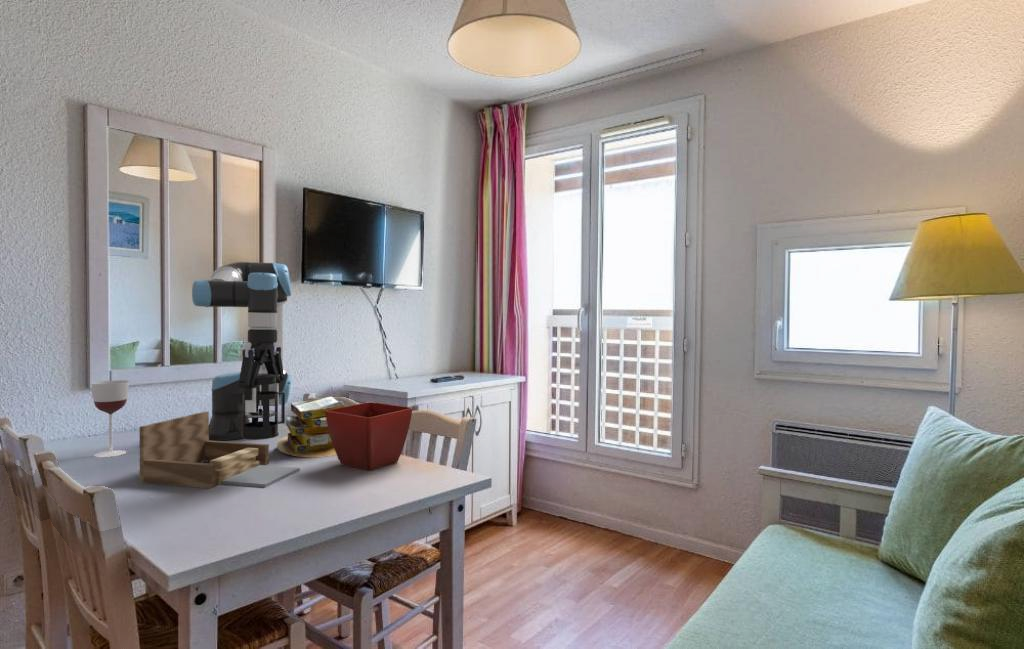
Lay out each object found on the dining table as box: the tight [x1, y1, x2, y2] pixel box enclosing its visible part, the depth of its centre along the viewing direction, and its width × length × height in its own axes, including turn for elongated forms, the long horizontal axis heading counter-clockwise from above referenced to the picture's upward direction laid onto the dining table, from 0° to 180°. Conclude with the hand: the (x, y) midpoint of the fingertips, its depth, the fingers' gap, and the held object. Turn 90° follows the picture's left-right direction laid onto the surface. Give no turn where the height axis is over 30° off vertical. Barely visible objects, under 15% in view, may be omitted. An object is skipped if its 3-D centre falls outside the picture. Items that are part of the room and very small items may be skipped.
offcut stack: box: [209, 448, 259, 486], centre depth 158 cm, size 18×5×6 cm, turn 171°
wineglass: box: [91, 379, 130, 458], centre depth 180 cm, size 9×10×23 cm
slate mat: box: [221, 464, 301, 488], centre depth 157 cm, size 16×13×1 cm
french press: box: [241, 354, 286, 441], centre depth 156 cm, size 12×9×23 cm
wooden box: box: [139, 411, 270, 489], centre depth 160 cm, size 24×22×15 cm
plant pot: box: [325, 401, 413, 471], centre depth 172 cm, size 19×19×17 cm
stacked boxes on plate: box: [276, 396, 347, 458], centre depth 190 cm, size 25×25×17 cm
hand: (262, 408), depth 156 cm, fingers closed on french press, 9 cm apart
